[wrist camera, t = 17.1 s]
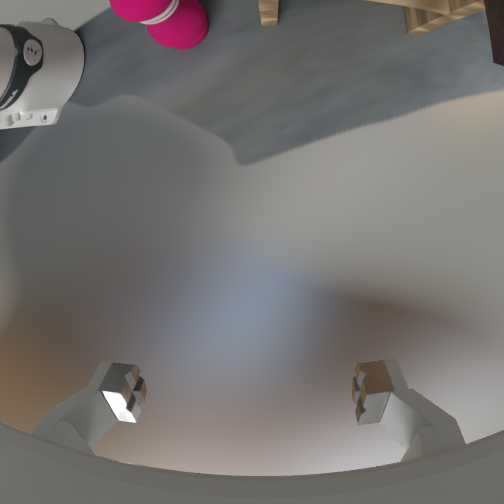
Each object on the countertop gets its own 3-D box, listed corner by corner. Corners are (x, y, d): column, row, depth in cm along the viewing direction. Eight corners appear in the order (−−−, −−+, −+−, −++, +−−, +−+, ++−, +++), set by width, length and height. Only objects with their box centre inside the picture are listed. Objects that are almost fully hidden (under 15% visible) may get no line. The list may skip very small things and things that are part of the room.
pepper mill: (180, -2, 32) (119, -62, 14) (223, 19, 34) (185, -43, 15) (150, 39, 35) (70, 4, 17) (192, 61, 36) (130, 28, 18)
